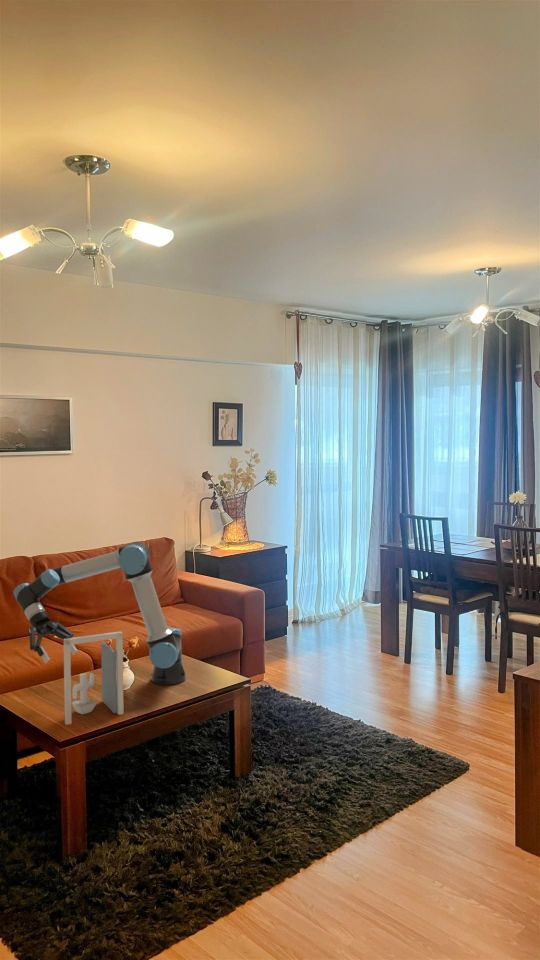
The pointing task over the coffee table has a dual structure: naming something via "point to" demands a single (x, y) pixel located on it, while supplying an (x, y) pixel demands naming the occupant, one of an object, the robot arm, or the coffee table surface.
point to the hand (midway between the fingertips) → (61, 657)
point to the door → (109, 677)
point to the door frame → (67, 668)
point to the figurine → (83, 694)
